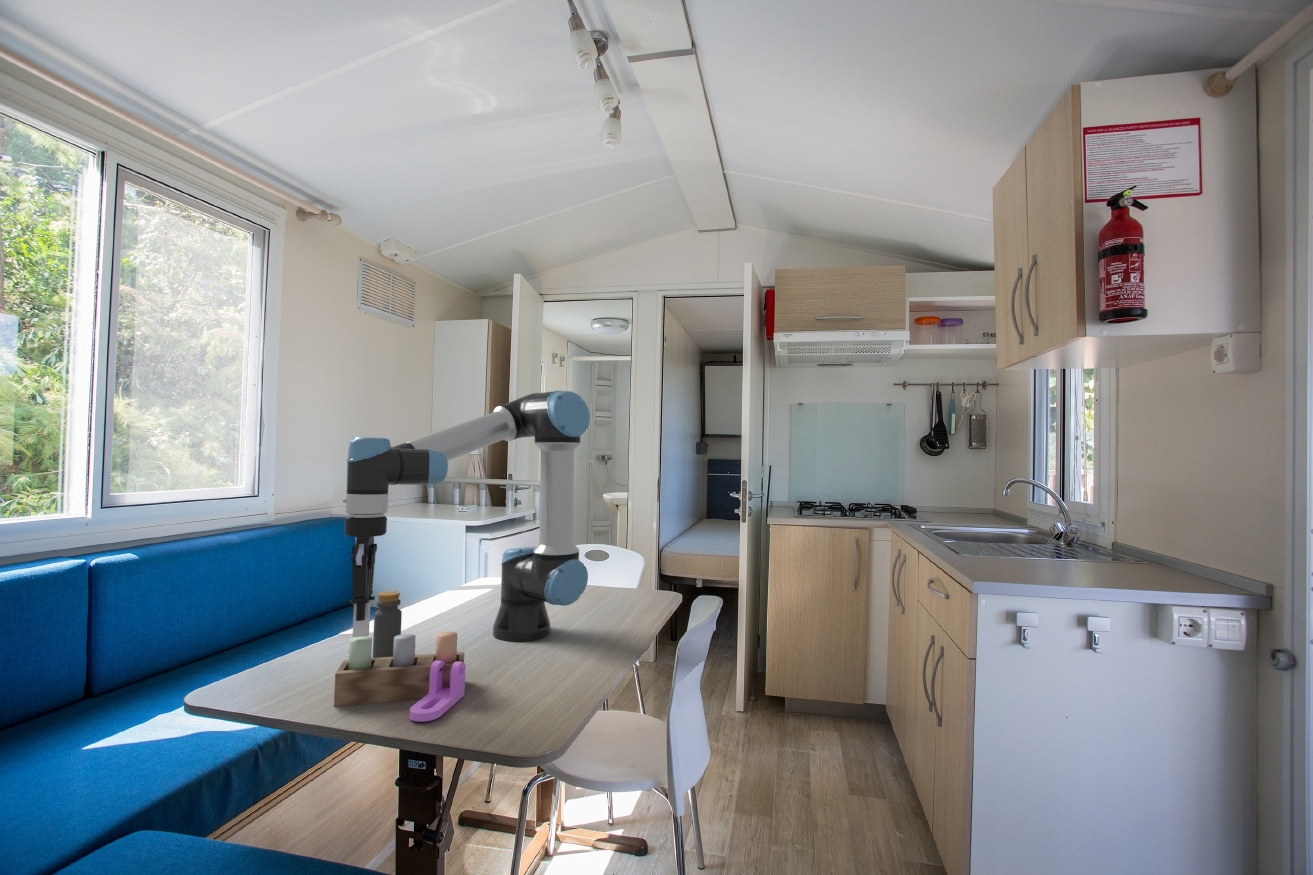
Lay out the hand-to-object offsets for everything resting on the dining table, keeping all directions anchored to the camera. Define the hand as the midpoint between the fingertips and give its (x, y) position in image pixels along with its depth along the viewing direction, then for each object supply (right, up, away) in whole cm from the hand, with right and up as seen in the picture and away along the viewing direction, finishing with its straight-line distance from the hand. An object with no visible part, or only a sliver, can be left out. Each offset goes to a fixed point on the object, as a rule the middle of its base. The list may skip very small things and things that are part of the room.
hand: (360, 635), depth 117 cm
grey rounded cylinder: (+7, -8, +2) cm, 11 cm away
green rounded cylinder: (0, -7, 0) cm, 7 cm away
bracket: (+17, -12, -5) cm, 21 cm away
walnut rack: (+7, -12, +2) cm, 14 cm away
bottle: (-5, -13, +22) cm, 26 cm away
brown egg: (+15, -8, +4) cm, 18 cm away
